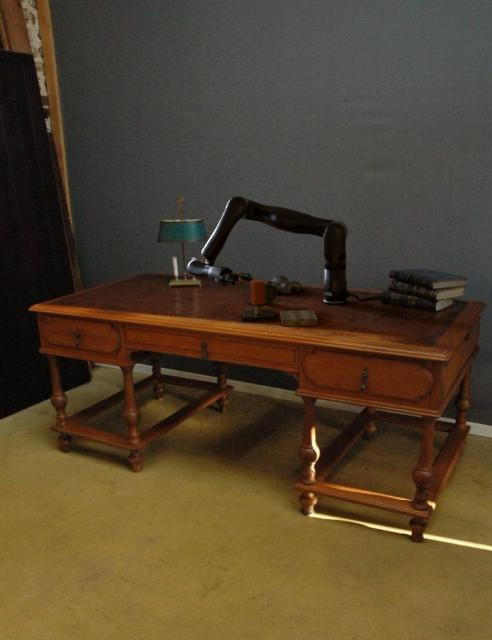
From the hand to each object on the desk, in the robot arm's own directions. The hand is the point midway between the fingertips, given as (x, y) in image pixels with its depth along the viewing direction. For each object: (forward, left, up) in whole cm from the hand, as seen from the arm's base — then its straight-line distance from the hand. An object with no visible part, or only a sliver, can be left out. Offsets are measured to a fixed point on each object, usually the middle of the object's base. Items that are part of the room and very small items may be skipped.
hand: (243, 281), depth 261 cm
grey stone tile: (-21, +16, -13) cm, 29 cm away
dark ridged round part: (-11, -13, -13) cm, 21 cm away
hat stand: (-6, +8, -13) cm, 16 cm away
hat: (-6, +8, -7) cm, 12 cm away
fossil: (-19, -38, -13) cm, 44 cm away
